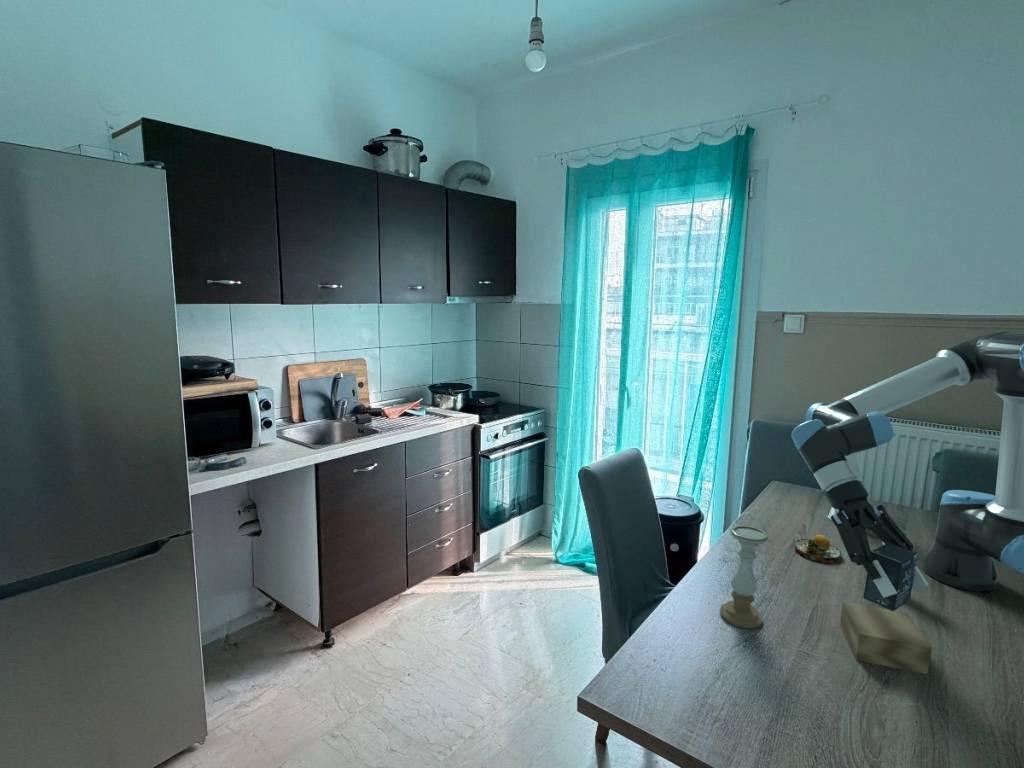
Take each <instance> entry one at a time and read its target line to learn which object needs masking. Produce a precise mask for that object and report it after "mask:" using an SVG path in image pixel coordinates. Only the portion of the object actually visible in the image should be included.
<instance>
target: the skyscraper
mask: <svg viewBox="0 0 1024 768" xmlns="http://www.w3.org/2000/svg"><path fill="white" fill-rule="evenodd" d="M845 458H846V459H847V461H848V463H849V464H850V466H851V467H852V469H853V470H854V472H855V473H856V475H857V476H858V477H857V479H856V480H859V481H860V479H861V460H860V452H858V453H854V454H851V455H848V456H845ZM838 512H839V510H838V509H834V508H833V507H832V506H831V508H830V511H829V514H828V515H824V518H826V519H828V520H829V521H830V522H832V523H833V521H832V520H831V518H830V517H831V516H832V515H834V514H836V513H838Z"/></svg>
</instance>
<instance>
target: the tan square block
mask: <svg viewBox="0 0 1024 768" xmlns="http://www.w3.org/2000/svg"><path fill="white" fill-rule="evenodd" d="M839 627H840V629H841V631H842V634H843V636H844V638H845V640H846V642H847V644H848V646H849V648H850V650H851V653H852V654H853V657H854V659H855V661H858V662H863V663H868V664H873V665H879V666H884V667H888V668H893V669H899V670H903V671H908V672H914V673H918V674H924V675H928V671H929V666H930V661H931V654H932V649H933V647H932V646H931V644H930V642H929V641H928V640H927V639H926V637H925V636H924V635H923V633H922V632H921V630H920V629H919V627H918V625H917V624H916V623H915V621H914V620H913V619H912V618H911V615H909V613H908V612H905V611H900V610H899V611H898V610H895V611H890V610H888V609H886V608H883V607H876V606H870V605H864V604H858V603H854V602H847V601H843V602H842V607H841V613H840V622H839Z"/></svg>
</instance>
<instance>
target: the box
mask: <svg viewBox="0 0 1024 768" xmlns="http://www.w3.org/2000/svg"><path fill="white" fill-rule="evenodd" d="M871 554H872V558H873V560H872V561H874V560H878V562H879V564H880V565H881V567H882V569H883V570H884V572H885V573H886V575H887V577H888V578H889V580H890V582H891V583H892V585H893V587H894V588H895V590H896V592H897V594H894V595H891V596H888V597H885V598H883V596H882V594H881V593H880V591H879V589H878V588H877V586H876V584H875V583H874V581H873V580H872V579H871V578H870V576H869V575H868V573H867V572H866V580H865V586H864V589H863V591H864V592H863V599H864V600H867V601H868V602H870V603H872V604H875V605H877V606H880V608H882V609H888V610H890V611H897V609H899V608H900V607H902V606H903V605H905V604H906V603H908V602H910V601H911V597H912V596H911V595H912V589H913V580H914V574H915V568H916V565H917V561H918V556H919V552H916V551H910V550H907V549H905V548H902V547H899V546H896V545H893V544H891V543H886V544H885V545H883V544H882V545H881V546H879V547H877V548H875V549H873V550H871Z"/></svg>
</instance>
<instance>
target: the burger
mask: <svg viewBox="0 0 1024 768" xmlns="http://www.w3.org/2000/svg"><path fill="white" fill-rule="evenodd" d="M827 535H828V534H826V535H823V534H815V535H814V536H813V537H812V538H811V539H809V538H808V539H806V538H803V539H802V538H801V539H797V540H796V541H794V543H793V546H794V548H795V549H794V550H795V551H794V552H795V553H796V555H800V557H801V556H802V554H803V556H804V557H805V558H806V559H807V560H811V561H816V562H819V561H820V562H822V564H828V563H831V564H836V563H839V562H841V559H842V557H841V556H842V552H841V551H840V550H839V549H838V547H836V546H834V545H832V544H831V541H830V540H829V539H828V538H827Z"/></svg>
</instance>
